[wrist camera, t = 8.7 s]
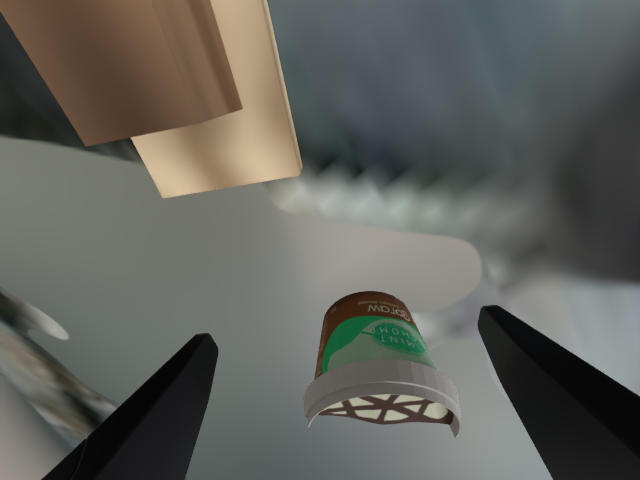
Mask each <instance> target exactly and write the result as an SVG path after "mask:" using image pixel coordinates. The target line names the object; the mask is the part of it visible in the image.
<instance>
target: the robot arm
mask: <svg viewBox="0 0 640 480" xmlns="http://www.w3.org/2000/svg"><path fill="white" fill-rule="evenodd" d="M478 330H479V333H480V335H481V337H482V340H483V342H484V345H485V347H486V349H487V352H488V354H489V357H490V359H491V361H492V364H493V366H494V369H495V371H496V373H497V376H498V378H499V380H500V382H501V384H502V386H503V388H504V390H505V392H506V394H507V395H508V397H509V399H510V401H511V403H512V405H513V406H514V408H515V410H516V412H517V413H518V415H519V417H520V419H521V421H522V423H523V425H524V427H525V428H526V430H527V432H528V434H529V436H530V438H531V440H532V441H533V443H534V445H535V447H536V449H537V450H538V452H539V454H540V456H541V458H542V460H543V462H544V463H545V465H546V467H547V469H548V471H549V472H550V474H551V476H552V478H553V480H640V396H638V395H637V394H635V393H634V392H632V391H630V390H629V389H627V388H626V387H624V386H623V385H621V384H620V383H618V382H616V381H615V380H613V379H612V378H610V377H609V376H607V375H606V374H604V373H602V372H601V371H599V370H598V369H596V368H595V367H593V366H592V365H590V364H588V363H587V362H585V361H584V360H582V359H581V358H579V357H578V356H576V355H574V354H573V353H571V352H570V351H568V350H567V349H565V348H564V347H562V346H560V345H559V344H557V343H556V342H554V341H553V340H551V339H549V338H548V337H546V336H545V335H543V334H542V333H540V332H539V331H537V330H535V329H534V328H532V327H531V326H529V325H528V324H526V323H525V322H523V321H521V320H520V319H518V318H517V317H515V316H514V315H512V314H511V313H509V312H507V311H506V310H504V309H503V308H501V307H500V306H497V305H489V306H483V307H482V308H481V310H480V315H479V320H478ZM217 357H218V347H217V345H216V343H215V342H214V340H213V338H212V337H211V335H210V334H208V333H202V334H196V335H195V336H194V337H193V338H192V339H190V340H189V341H188V342H187V343H186V344H185V345H184V346H183V347H182V348H181V349H180V350H179V351H178V352H177V353H176V354H175V355H174V356H172V358H170V360H168V361H167V362H166V363H165V364H164V365H163V366H162V367H161V368H160V369H159V370H158V371H157V372H156V373H154V374H153V376H151V377H150V378H149V379H148V380H147V381H146V382H145V383H144V384H143V385H142V386H141V387H140V388H139V389H138V390H136V392H134V393H133V394H132V395H131V396H130V397H129V398H128V399H127V400H126V401H125V402H124V403H123V404H122V405H121V406H120V407H118V408H117V409H116V410H115V411H114V412H113V413H112V414H111V415H110V416H109V417H108V418H107V419H106V420H105V421H104V422H103V423H101V424H100V425H99V426H98V427H97V428H96V429H95V430H94V431H93V432H92V433H91V434H90V435H89V436H88V437H87V439H84V440H83V441H82V442H81V443H80V444H79V445H78V446H77V447H76V448H75V449H74V450H73V451H72V452H71V453H70V454H69V455H67V456H66V457H65V458H64V459H63V460H62V461H61V462H60V463H59V464H58V465H57V466H56V467H54V468H53V469H52V470H51V471H50V472H49V473H48V474H47V475H46V476H45V477H43V478H42V479H41V480H185V477H186V473H187V470H188V467H189V463H190V460H191V457H192V453H193V450H194V447H195V444H196V441H197V437H198V434H199V431H200V427H201V424H202V421H203V417H204V414H205V411H206V408H207V404H208V400H209V396H210V392H211V387H212V382H213V377H214V372H215V367H216V363H217Z"/></svg>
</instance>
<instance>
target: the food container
mask: <svg viewBox="0 0 640 480" xmlns="http://www.w3.org/2000/svg"><path fill="white" fill-rule="evenodd" d="M303 400H304V409H305V417H306V418H308V428H309V427H310V424H311V422H312V420H313V419H314V417H315V416H317V415H335V416H345V417H351V418H355V419H359V420H363V421H367V422H372V423H376V424H397V423H405V422H429V423H443V424H449V425H450V427H451V429H452V432H453V434H454V436H455V438H457V437H458V435H459V433H460V431H461V422H460V420H461V411H460V405H459V400H458V396H457V391H456V388H455V386H454V384H453V383H452V382H451V380H450V379H449V378H448V377H446V376H445V375H444V374H443V373H441V372H439V371H438V370H437V368H436V366H435V364H434V362H433V360H432V358H431V356H430V354H429V352H428V350H427V347H426V345H425V343H424V341H423V339H422V337H421V335H420V333H419V331H418V329H417V327H416V324H415V322H414V320H413V318H412V316H411V314H410V312H409V310H408V309H407V307H406V306H405V304H404V303H403V302H402V301H400V300H399V299H397V298H395V297H394V296H392V295H389V294H386V293H383V292H375V291H365V292H359V293H354V294H350V295H348V296H345V297H343V298H341V299H340V300H338V301H337V302H335V303H334V304H333V305H332V306H331V307H330V308H329V309H328V311H327V312H326V314H325V317H324V321H323V327H322V334H321V340H320V346H319V353H318V359H317V366H316V373H315V379H314V381H313V382H312V383H311V384H310V385H309V386H308V388H307V390H306V392H305V394H304V398H303Z"/></svg>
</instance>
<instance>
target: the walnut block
mask: <svg viewBox="0 0 640 480" xmlns="http://www.w3.org/2000/svg"><path fill="white" fill-rule="evenodd" d="M0 12H1V13H2V15H3V16H4V18H5V19H6V21H7V23H8V24H9V26H10V27H11V29H12V31H13V32H14V34H15V35H16V37H17V38H18V40H19V42H20V43H21V45H22V46H23V48H24V49H25V51H26V53H27V54H28V56H29V57H30V59H31V60H32V62H33V64H34V65H35V67H36V68H37V70H38V72H39V73H40V75H41V76H42V78H43V79H44V81H45V83H46V84H47V86H48V87H49V89H50V90H51V92H52V94H53V95H54V97H55V98H56V100H57V102H58V103H59V105H60V106H61V108H62V109H63V111H64V113H65V114H66V116H67V117H68V119H69V120H70V122H71V124H72V125H73V127H74V128H75V130H76V132H77V133H78V135H79V136H80V138H81V139H82V141H83V143H84V144H85V146H91V145H96V144H101V143H106V142H110V141H115V140H120V139H125V138H130V137H135V136H140V135H145V134H150V133H155V132H160V131H165V130H170V129H175V128H180V127H185V126H190V125H195V124H199V123H202V122H205V121H208V120H211V119H214V118H217V117H220V116H223V115H226V114H229V113H233V112H236V111H239V110H242V109H243V107H242V104H241V101H240V97H239V94H238V91H237V87H236V84H235V81H234V78H233V74H232V71H231V68H230V64H229V61H228V58H227V54H226V51H225V48H224V44H223V41H222V38H221V34H220V31H219V28H218V24H217V21H216V18H215V14H214V11H213V8H212V4H211V1H210V0H0Z"/></svg>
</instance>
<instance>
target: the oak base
mask: <svg viewBox="0 0 640 480" xmlns="http://www.w3.org/2000/svg"><path fill="white" fill-rule="evenodd" d="M210 1H211V4H212V8H213V11H214V14H215V18H216V21H217V24H218V28H219V31H220V34H221V38H222V41H223V44H224V48H225V51H226V54H227V58H228V61H229V64H230V68H231V71H232V74H233V78H234V81H235V84H236V87H237V91H238V94H239V97H240V101H241V104H242V107H243V109H242V110H239V111H236V112H233V113H229V114H226V115H223V116H220V117H217V118H214V119H211V120H208V121H205V122H202V123H199V124H195V125H190V126H185V127H180V128H175V129H170V130H165V131H160V132H155V133H150V134H145V135H140V136H135V137H130V138H131V139H132V141H133V143H134V145H135V147H136V149H137V151H138V153H139V154H140V156H141V158H142V160H143V162H144V164H145V166H146V167H147V169H148V171H149V173H150V175H151V177H152V179H153V181H154V182H155V184H156V186H157V188H158V190H159V192H160V193H161V195H162V197H163V198H167V197H173V196H179V195H184V194H191V193H197V192H203V191H209V190H215V189H221V188H227V187H233V186H239V185H245V184H251V183H257V182H263V181H269V180H275V179H281V178H287V177H293V176H299V175H300V173H301V170H302V162H301V158H300V153H299V148H298V144H297V139H296V134H295V130H294V125H293V120H292V116H291V111H290V106H289V102H288V97H287V92H286V87H285V83H284V78H283V73H282V69H281V64H280V59H279V55H278V50H277V45H276V41H275V36H274V31H273V27H272V22H271V17H270V13H269V8H268V3H267V0H210Z"/></svg>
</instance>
